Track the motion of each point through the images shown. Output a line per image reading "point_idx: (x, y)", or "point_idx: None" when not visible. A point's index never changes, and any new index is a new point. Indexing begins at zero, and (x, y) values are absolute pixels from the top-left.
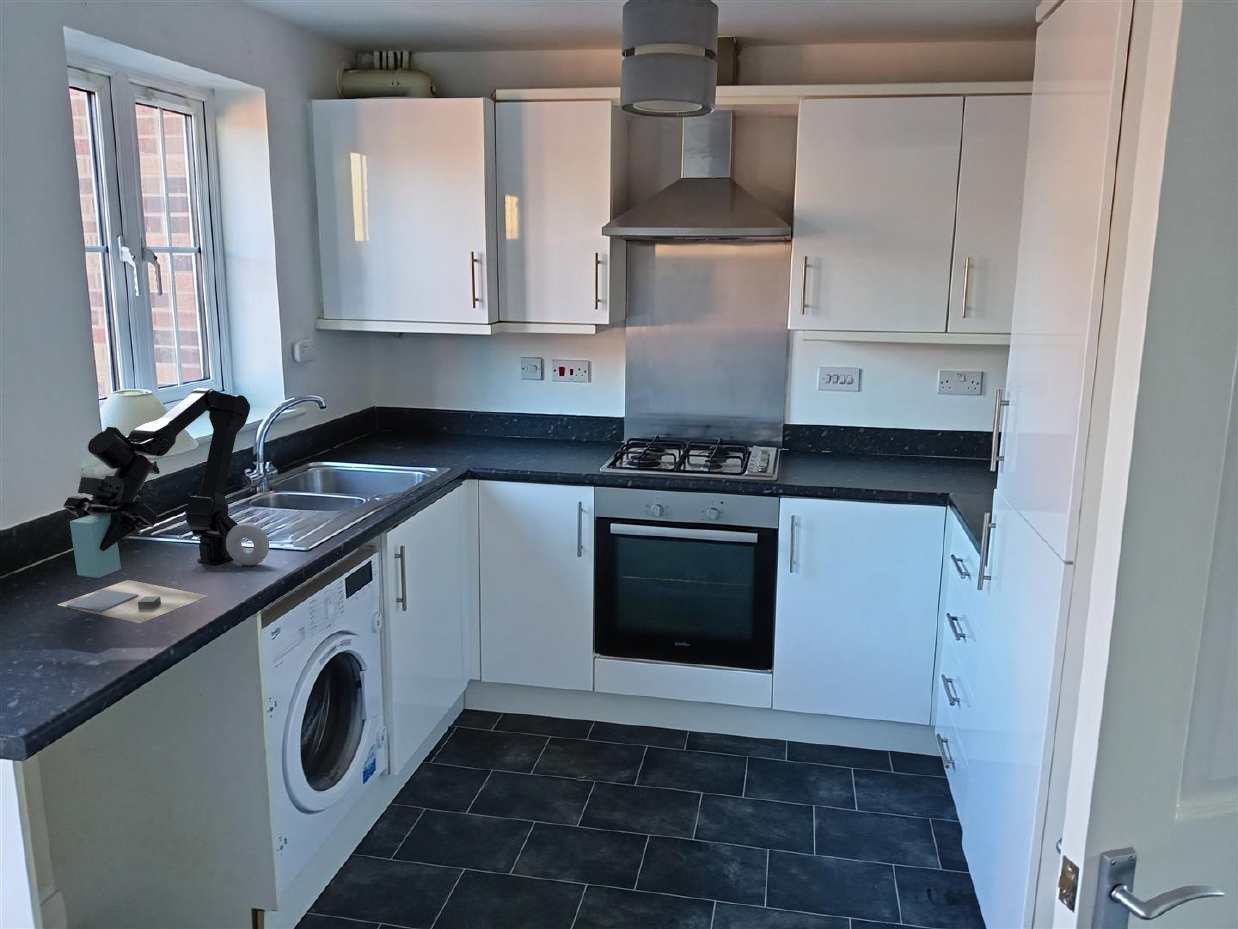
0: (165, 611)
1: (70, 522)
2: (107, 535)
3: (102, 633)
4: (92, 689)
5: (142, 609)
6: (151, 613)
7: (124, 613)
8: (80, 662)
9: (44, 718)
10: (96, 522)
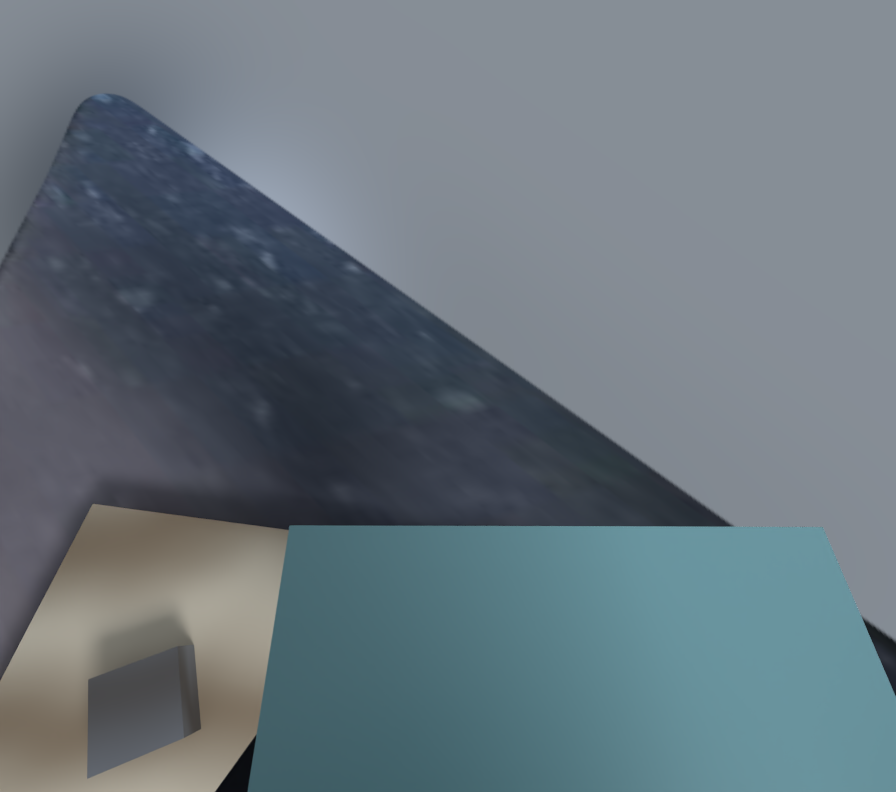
0: (28, 663)
1: (792, 530)
2: (241, 781)
3: (252, 458)
4: (49, 203)
5: (171, 647)
6: (95, 617)
7: (229, 576)
8: (177, 292)
9: (86, 123)
10: (270, 679)
